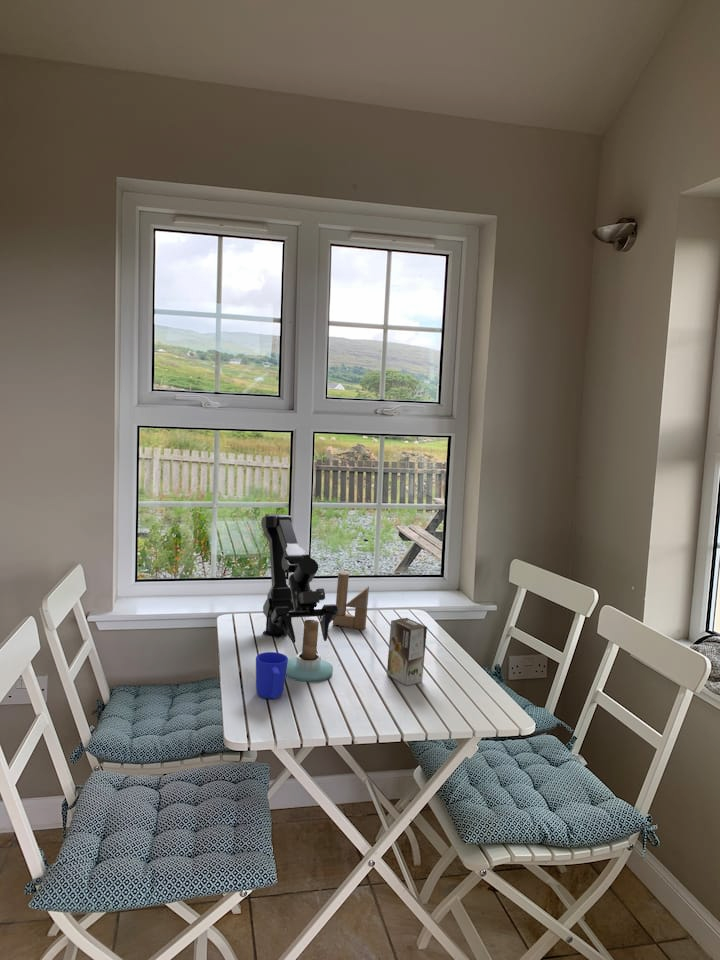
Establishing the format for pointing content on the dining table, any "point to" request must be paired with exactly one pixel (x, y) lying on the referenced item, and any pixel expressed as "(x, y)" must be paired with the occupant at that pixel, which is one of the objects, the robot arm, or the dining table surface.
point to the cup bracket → (308, 669)
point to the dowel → (310, 639)
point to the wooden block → (350, 605)
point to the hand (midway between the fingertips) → (310, 641)
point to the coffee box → (406, 651)
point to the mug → (270, 674)
